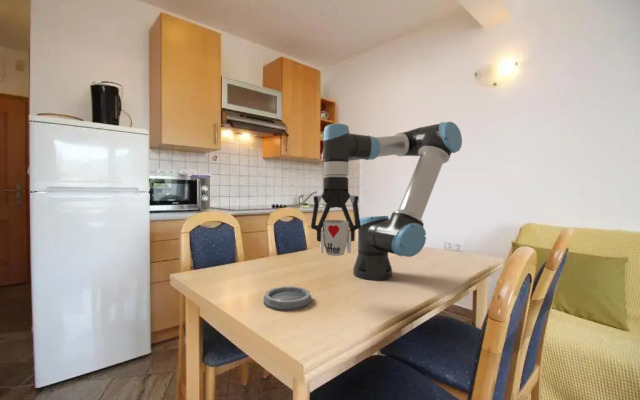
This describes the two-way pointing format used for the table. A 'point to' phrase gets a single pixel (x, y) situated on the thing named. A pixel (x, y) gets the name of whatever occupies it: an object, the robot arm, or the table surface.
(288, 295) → the tray
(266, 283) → the table surface
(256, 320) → the table surface
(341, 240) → the cup
